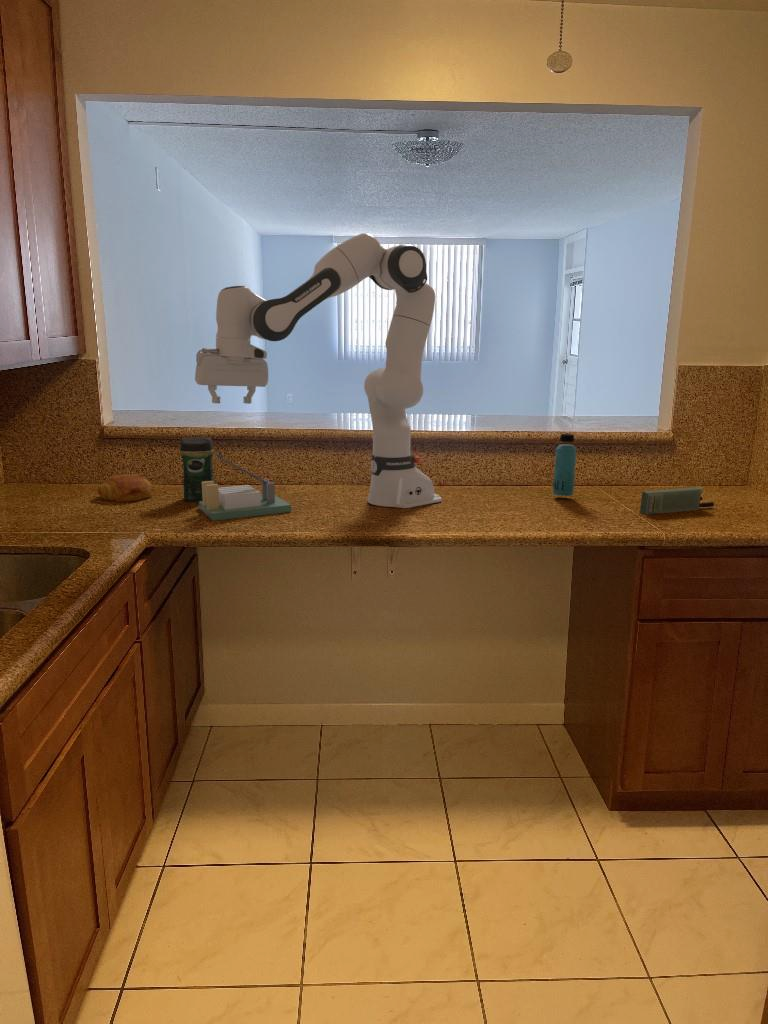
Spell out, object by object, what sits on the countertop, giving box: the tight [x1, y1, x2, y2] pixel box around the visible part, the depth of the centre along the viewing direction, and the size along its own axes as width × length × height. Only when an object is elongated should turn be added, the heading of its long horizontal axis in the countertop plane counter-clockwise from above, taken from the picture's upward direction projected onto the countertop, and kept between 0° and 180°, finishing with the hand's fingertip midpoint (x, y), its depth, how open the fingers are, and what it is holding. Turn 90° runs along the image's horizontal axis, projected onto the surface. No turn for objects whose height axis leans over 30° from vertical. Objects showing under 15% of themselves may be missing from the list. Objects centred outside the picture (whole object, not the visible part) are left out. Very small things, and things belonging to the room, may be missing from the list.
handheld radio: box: [639, 486, 715, 515], centre depth 199 cm, size 7×3×25 cm
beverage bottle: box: [552, 433, 578, 497], centre depth 211 cm, size 6×7×20 cm
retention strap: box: [213, 451, 272, 486], centre depth 192 cm, size 18×3×2 cm
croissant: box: [97, 473, 153, 503], centre depth 208 cm, size 14×16×8 cm
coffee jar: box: [179, 436, 216, 502], centre depth 205 cm, size 10×8×19 cm
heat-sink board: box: [198, 479, 292, 522], centre depth 194 cm, size 22×15×9 cm
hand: (232, 403), depth 184 cm, fingers open, 8 cm apart
